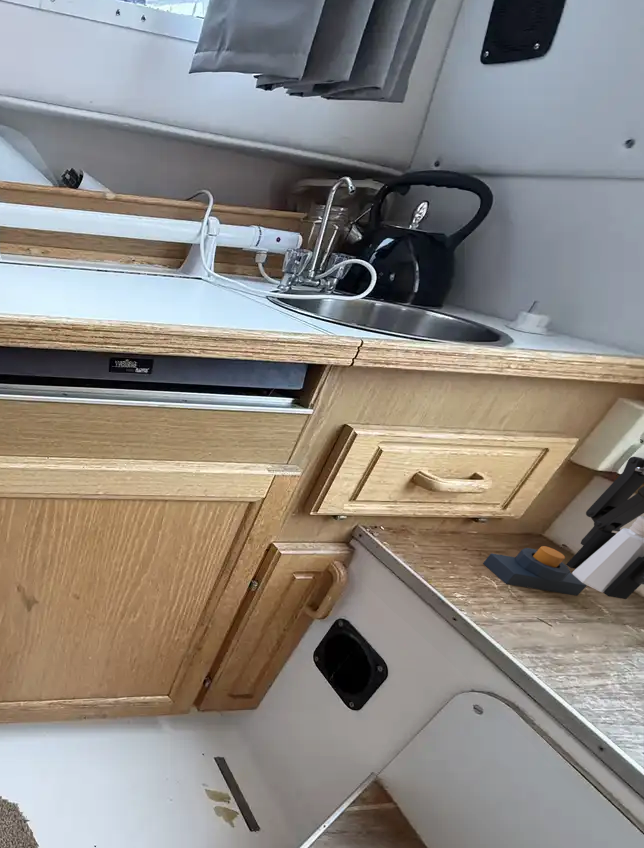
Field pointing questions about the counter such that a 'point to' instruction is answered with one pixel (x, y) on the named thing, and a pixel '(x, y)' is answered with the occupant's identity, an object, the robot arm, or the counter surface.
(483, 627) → the counter surface
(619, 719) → the counter surface
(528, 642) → the counter surface
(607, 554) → the salt shaker
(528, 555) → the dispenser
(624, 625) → the counter surface
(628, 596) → the robot arm
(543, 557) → the orange button cap
